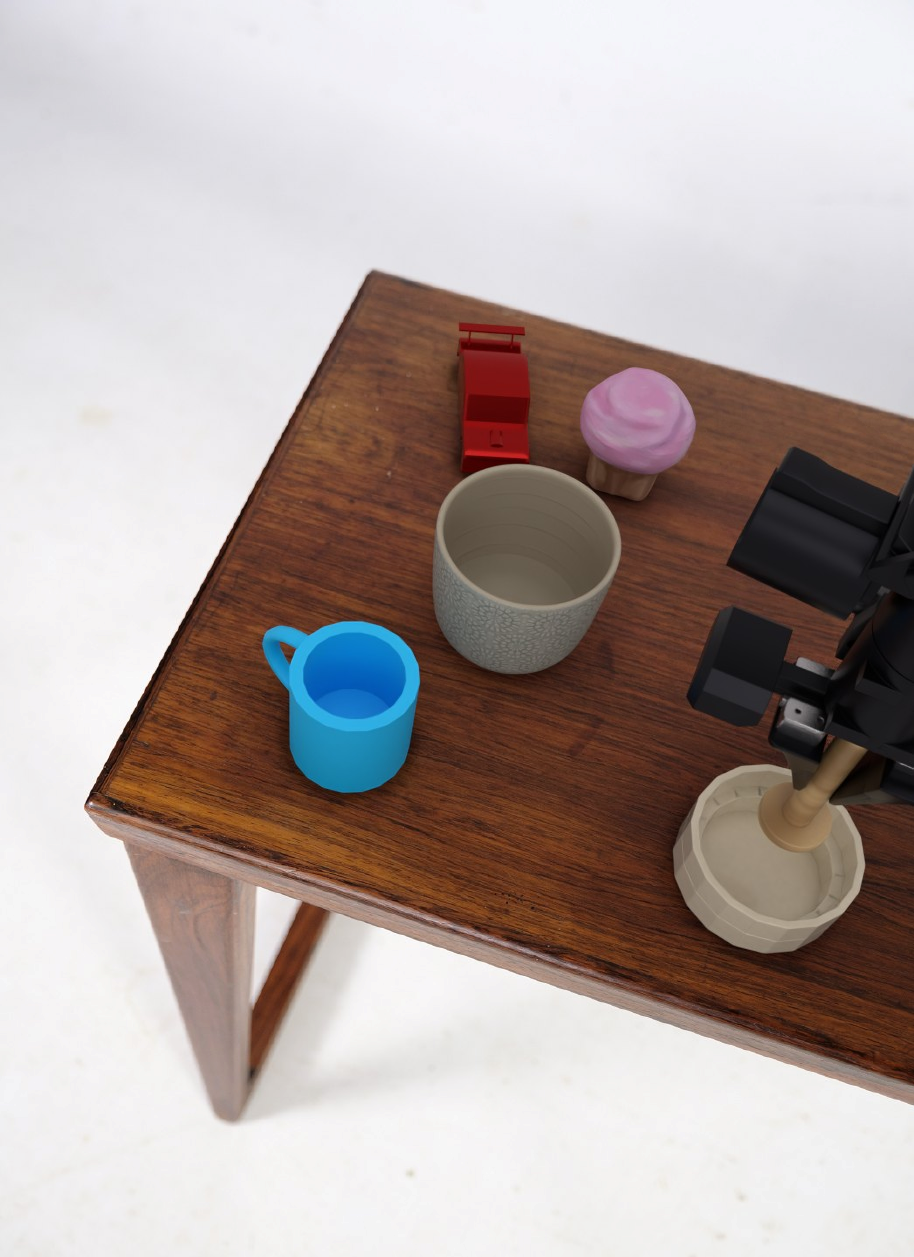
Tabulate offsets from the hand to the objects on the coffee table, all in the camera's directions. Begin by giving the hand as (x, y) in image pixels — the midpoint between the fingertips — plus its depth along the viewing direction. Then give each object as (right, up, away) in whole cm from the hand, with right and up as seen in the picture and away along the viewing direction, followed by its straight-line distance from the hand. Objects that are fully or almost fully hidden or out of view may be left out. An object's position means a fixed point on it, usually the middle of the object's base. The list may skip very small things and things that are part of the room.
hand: (815, 790), depth 70 cm
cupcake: (-8, +22, +28) cm, 36 cm away
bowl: (-1, -7, +9) cm, 11 cm away
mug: (-30, +3, +12) cm, 32 cm away
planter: (-17, +10, +18) cm, 27 cm away
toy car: (-18, +27, +30) cm, 44 cm away
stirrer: (0, -2, +3) cm, 4 cm away
